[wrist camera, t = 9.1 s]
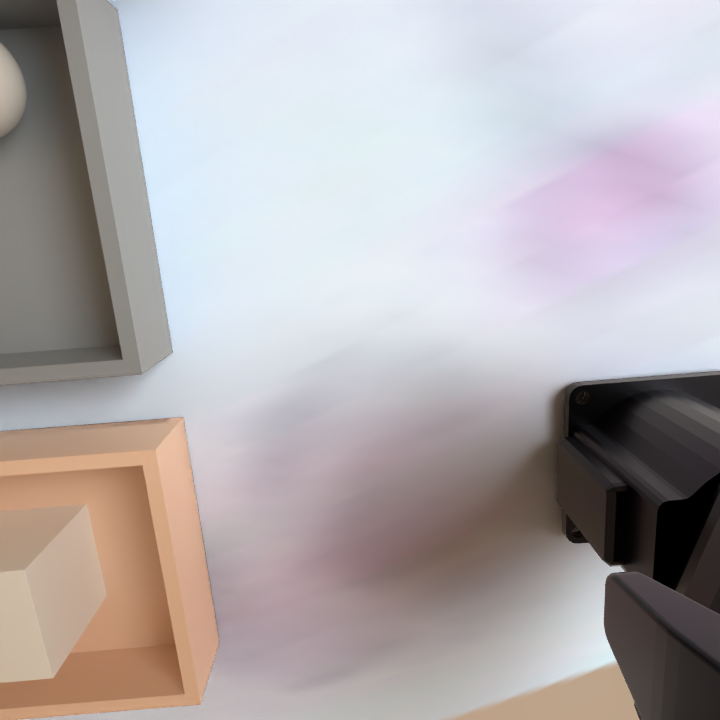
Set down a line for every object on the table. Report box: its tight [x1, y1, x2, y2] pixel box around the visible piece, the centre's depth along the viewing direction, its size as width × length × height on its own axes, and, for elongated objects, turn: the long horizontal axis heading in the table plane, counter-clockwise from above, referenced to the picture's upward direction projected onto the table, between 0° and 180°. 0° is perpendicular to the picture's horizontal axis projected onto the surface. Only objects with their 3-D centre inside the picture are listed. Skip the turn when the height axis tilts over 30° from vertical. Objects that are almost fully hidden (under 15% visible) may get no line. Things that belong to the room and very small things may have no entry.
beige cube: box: [0, 504, 107, 683], centre depth 19 cm, size 4×4×4 cm
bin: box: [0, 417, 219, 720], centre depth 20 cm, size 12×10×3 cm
